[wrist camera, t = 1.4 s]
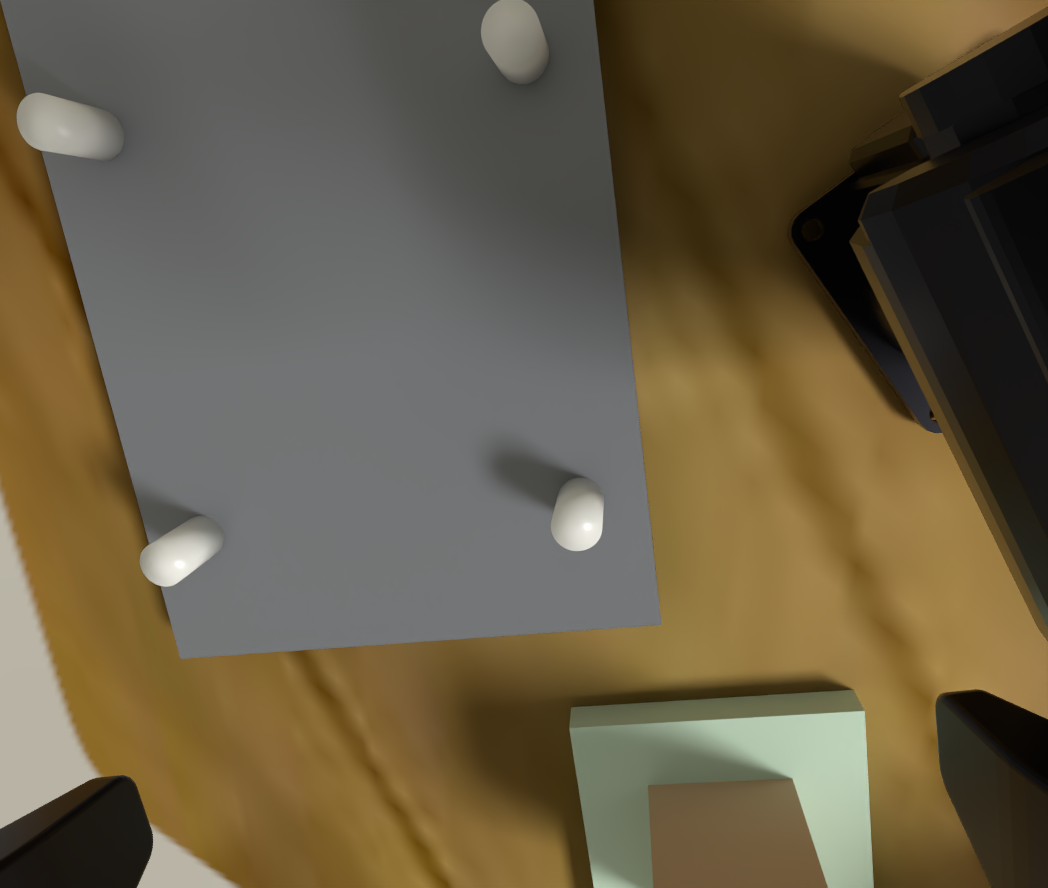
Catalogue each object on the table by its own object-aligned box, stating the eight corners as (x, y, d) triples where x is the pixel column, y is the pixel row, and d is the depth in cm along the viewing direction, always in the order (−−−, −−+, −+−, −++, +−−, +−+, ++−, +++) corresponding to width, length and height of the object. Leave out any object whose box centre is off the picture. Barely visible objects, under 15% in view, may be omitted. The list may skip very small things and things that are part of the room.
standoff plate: (659, 604, 21) (665, 665, 18) (202, 638, 23) (138, 697, 20) (579, -123, 17) (571, -204, 14) (33, -1, 19) (-79, -48, 16)
